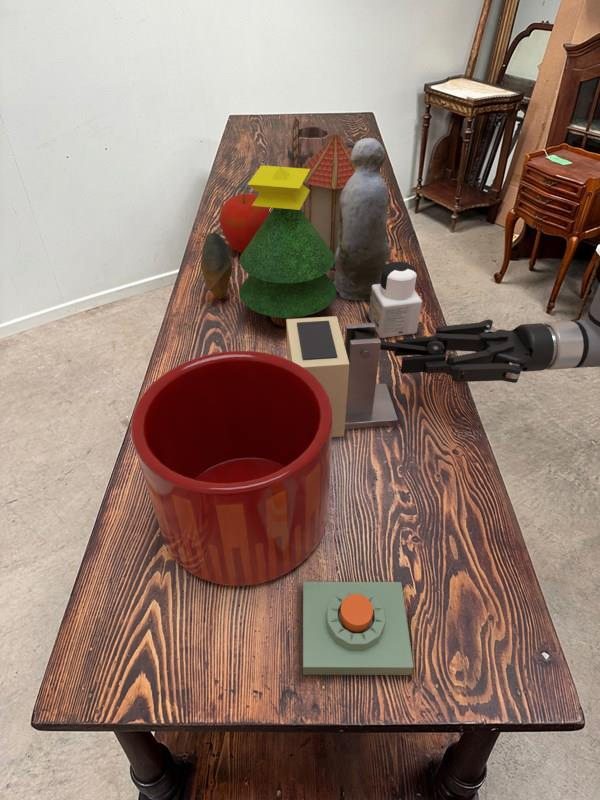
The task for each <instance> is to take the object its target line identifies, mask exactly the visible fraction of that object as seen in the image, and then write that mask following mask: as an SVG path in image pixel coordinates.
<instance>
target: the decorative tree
mask: <svg viewBox="0 0 600 800" xmlns="http://www.w3.org/2000/svg"><path fill="white" fill-rule="evenodd" d="M309 171H310V169H303V168H290V167H288V166H278V165H277V166H275V165H260V167H259V168H258V169H257V170H256V172H255V174H253V176H252V177H251V179H249V181H248V182H247V186H249V187H250V188H251V189H253V190H255V191H256V193H259V194H258V195H257V196H258V197H257V199H256V200H255V201H254V203H253V204H252V206H261V207H268V208H272V209H271V211H270V214H269V215H268V217H267V218H266V220H265V221H264V223H263V224H262V226H261V227H260V229H259V230H258V231H257V233H256V234H255V236H254V237H253V239H252V240H251V242H250V243H249V245H248V246H247V247H246V249H245V250H244V252H243V253H241V255H240V258H239V263H240V267H241V268H242V269H243V270H244V272H245V273H247V274H248V276H247V277H246V279H244V280H243V282H242V284H241V285H240V288H239V297H240V300H241V302H242V303H243V304H244V306H246V307H247V308H248V309H250V310H252V311H254V312H256V313H257V314H261V315H263V316H267V317H270V319H271V321H272V322H273V323H274V324H275V325H278V326H280V327H286V319H299V318H307V316H310V315H314V314H316V313H318V312H321V311H322V310H324V309H326V308H327V307H329V306H330V305H331V304H332V303H333V302H334V300H335V298H336V296H337V291H336V286H335V284H334V280H332V279H331V278H330V276H329V275H328V274H327V273H328V272H329V271H330V270H331V268H332V267H333V265H334V263H335V256H334V254H333V252H332V251H331V249H330V248H329V247H328V245H327V244H326V243H325V241H324V240H323V239H322V237H321V236H320V235H319V233H318V232H317V231H316V229H315V228H314V227H313V225H312V224H311V223H310V221H309V220H308V219H307V218H306V216H305V215H304V214H303V212H302V211H301V210H300V208H301V206H302V205H303V203H304V201H305V199H306V197H307V195H308V193H309V191H310V190H309V189H308V188H306V187H305V186H304V185H303V184H302V183H303V181H304V180H305V178H306V176H307V174H308V172H309ZM286 328H287V327H286Z"/></svg>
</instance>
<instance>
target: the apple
mask: <svg viewBox="0 0 600 800" xmlns="http://www.w3.org/2000/svg"><path fill="white" fill-rule="evenodd" d="M258 196H259V195H257V194H254V193H248V192H247V193H240V194H237V195H234V196H231V197H229V199H227V200H226V201H225V202H224V203H223V204H222V205H221V209H220V213H219V216H218V221H219V224H220V228H221V232H222V234H223V236H224V237H225V239H226V242H227V243H228V244H229V246H230V248H231V249H232V250H235V251H236V252H238V253H240V254H242V253H243V252H244V250H245V249H246V247H247V246H248V245H249V243H250V242H251V240H252V239H253V237H254V236H255V234H256V233H257V231H258V230H259V229H260V227H261V226H262V224H263V223H264V221H265V220H266V218H267V217H268V215H269V214H270V213H271V211H270V209H269V208H270V207H261V206H252V204H253V203H254V201H255V200H256V199H257V197H258Z"/></svg>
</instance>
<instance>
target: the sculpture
mask: <svg viewBox="0 0 600 800" xmlns="http://www.w3.org/2000/svg"><path fill="white" fill-rule="evenodd" d="M354 144H355V146H354V148H353V149H352V150H351V151H352V153H351V162H352V163H353V165H354V167H355V172H354V174H353V175H352V177H351V178H350V179H349V180H348V182H347V183H346V185H345V187H344V189H343V191H342V193H341V196H340V204H339V211H340V214H339V216H340V224H339V229H338V235H337V236H338V243H337V249H336V254H335V266H336V267H335V269H334V270H335V272H334V280H333V283H334V284H335V286H336V293H338V295H339V297H340V298H342V299H344V300H349V301H356V302H357V301H370V299H371V289H372V285H375V284H380V283H381V274H382V268H383V267H384V266H385V265H387V260H388V258H389V256H390V253H391V250H390V248H389V243H388V238H387V225H388V223H387V222H388V208H389V201H390V200H389V192H388V191H389V190H388V188H387V184H386V182H385V180H384V178H383V177H382V175H381V168H382V167H383V165H384V162H385V160H386V157H387V156H386V150H385V148H384V147H383V145H382V144H381V143H380V142H379V140H377V139H376V138H373V137H366V138H361V139H359V140H358V141H356V143H354Z"/></svg>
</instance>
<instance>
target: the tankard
mask: <svg viewBox="0 0 600 800" xmlns="http://www.w3.org/2000/svg"><path fill="white" fill-rule="evenodd" d="M331 136H332V133H331V131H330V130H327V129H325V128H322V127H320V126H311V125H308V126H303V127H299V157H298V168H300V167H301V165H302V163H303V161H304V160H305V158H306V157H307V156H308V155H309V153H310V152H311V155H312V157H313V156H314V155H315V154H316V153H317V152H318V151H319V150H320V149H321V148H322V147H323V146H324V145H325V144H326V143H327V142H328V140H329V139H330V138H331ZM344 144H345V145H346V146H347V147H348V148H349V149H350V148H351V149H352V150H353V148H354V146H355V144H356V143H354V142H352V141H347V142H344ZM287 158H288V161H287V163H288V164H287V167H290V168H294V160H293V130H291V132H290V138H289V145H288V147H287ZM302 184H303V185H304V183H302ZM300 210H301V211H302V212H303V214H304V203H303V205H302V206H301V208H300Z"/></svg>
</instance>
